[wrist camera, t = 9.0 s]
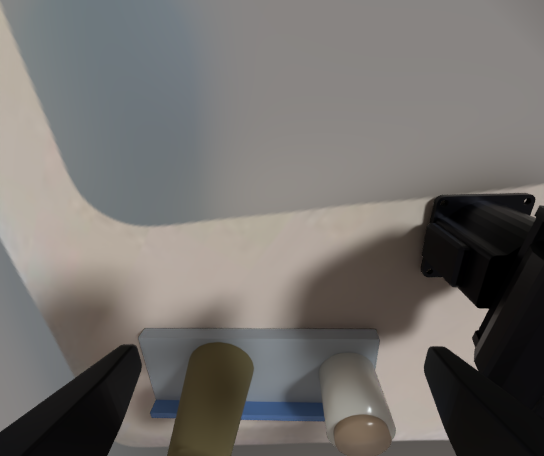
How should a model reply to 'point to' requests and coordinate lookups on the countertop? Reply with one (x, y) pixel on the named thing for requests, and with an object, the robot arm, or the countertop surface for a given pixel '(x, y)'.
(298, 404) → the shelf
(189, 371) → the olive waisted cylinder
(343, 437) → the ceramic jar
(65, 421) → the robot arm
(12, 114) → the countertop surface
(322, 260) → the countertop surface
